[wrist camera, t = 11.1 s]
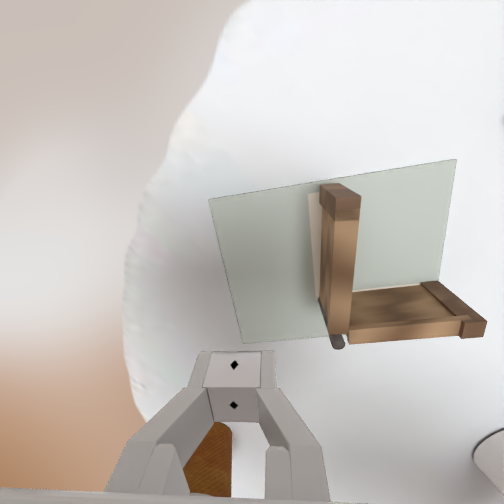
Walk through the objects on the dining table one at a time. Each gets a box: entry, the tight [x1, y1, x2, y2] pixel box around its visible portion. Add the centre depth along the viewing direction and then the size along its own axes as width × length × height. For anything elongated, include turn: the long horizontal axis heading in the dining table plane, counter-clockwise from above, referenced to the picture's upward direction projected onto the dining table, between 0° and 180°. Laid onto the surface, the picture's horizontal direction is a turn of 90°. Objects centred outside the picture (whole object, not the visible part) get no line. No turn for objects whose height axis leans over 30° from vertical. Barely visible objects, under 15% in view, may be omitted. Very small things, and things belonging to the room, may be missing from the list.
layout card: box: [209, 159, 457, 344], centre depth 28 cm, size 24×20×1 cm
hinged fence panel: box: [319, 183, 362, 335], centre depth 23 cm, size 13×2×6 cm, turn 5°
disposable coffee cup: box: [183, 422, 232, 498], centre depth 38 cm, size 10×10×12 cm
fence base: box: [318, 280, 487, 350], centre depth 26 cm, size 14×2×7 cm, turn 100°
